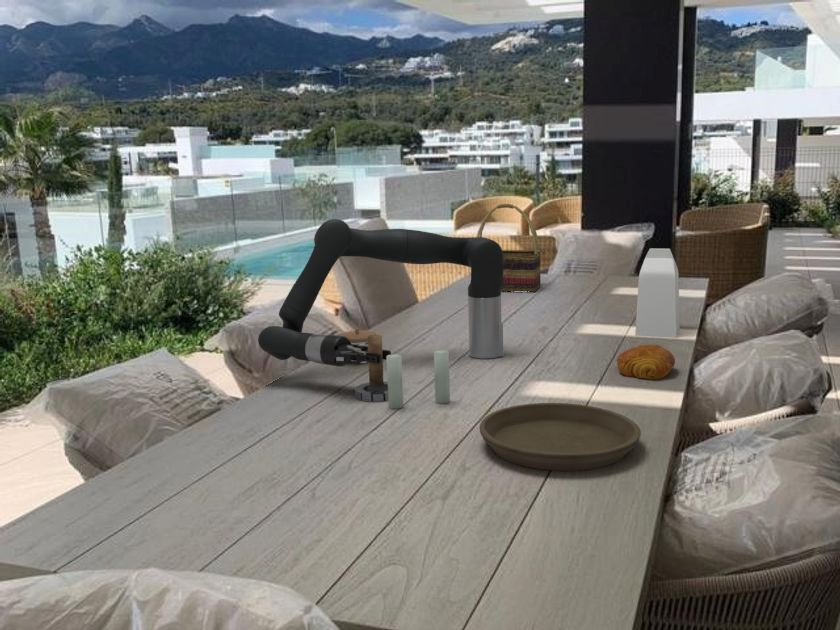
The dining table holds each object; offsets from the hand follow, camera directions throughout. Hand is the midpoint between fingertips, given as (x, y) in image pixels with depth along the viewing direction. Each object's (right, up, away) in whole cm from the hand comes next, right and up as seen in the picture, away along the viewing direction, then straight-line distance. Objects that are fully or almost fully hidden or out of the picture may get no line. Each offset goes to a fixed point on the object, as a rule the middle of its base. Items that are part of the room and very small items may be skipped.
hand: (385, 357), depth 200 cm
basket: (+44, +20, +145) cm, 153 cm away
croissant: (+66, -5, +16) cm, 68 cm away
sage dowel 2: (+14, -10, -4) cm, 17 cm away
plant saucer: (+36, -16, -35) cm, 52 cm away
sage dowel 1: (+3, -11, -6) cm, 13 cm away
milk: (+82, +4, +59) cm, 101 cm away
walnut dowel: (-2, -7, +3) cm, 8 cm away
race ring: (-2, -9, +3) cm, 10 cm away
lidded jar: (-9, -3, +36) cm, 38 cm away
